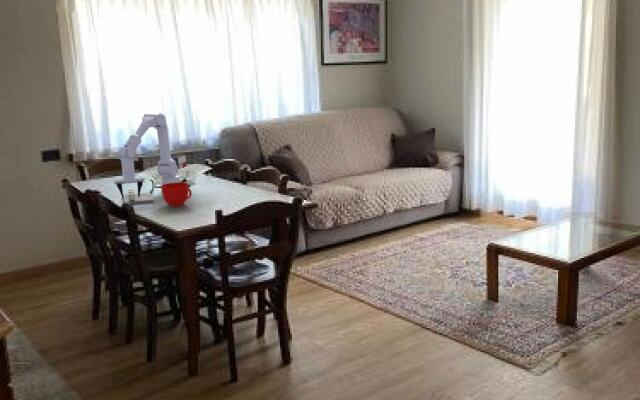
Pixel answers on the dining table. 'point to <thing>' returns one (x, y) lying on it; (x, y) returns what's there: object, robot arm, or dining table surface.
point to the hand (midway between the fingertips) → (130, 197)
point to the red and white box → (180, 161)
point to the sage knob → (132, 196)
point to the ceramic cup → (175, 193)
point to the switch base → (139, 198)
